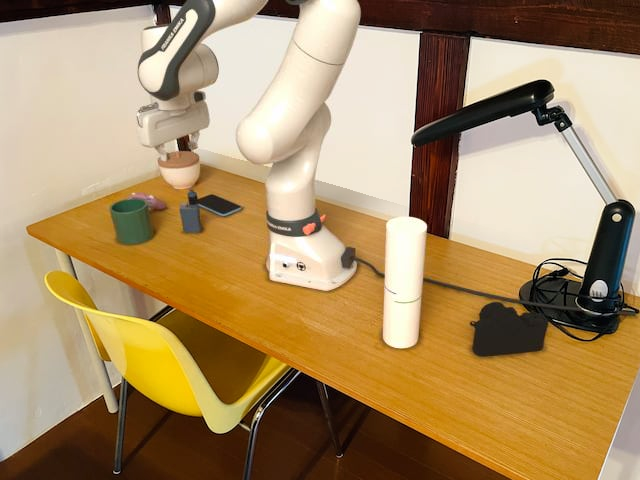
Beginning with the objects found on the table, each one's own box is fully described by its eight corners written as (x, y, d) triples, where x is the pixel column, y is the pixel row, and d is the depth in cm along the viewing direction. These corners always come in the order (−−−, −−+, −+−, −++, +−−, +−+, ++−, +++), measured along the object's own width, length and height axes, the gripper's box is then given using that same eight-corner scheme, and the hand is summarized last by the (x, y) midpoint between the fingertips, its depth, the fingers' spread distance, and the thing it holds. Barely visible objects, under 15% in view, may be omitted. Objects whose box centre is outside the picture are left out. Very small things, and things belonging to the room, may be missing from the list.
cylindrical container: (396, 321, 111) (401, 213, 98) (425, 335, 107) (434, 224, 94) (375, 338, 106) (378, 226, 93) (404, 353, 103) (411, 239, 89)
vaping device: (201, 233, 144) (194, 192, 138) (182, 232, 144) (174, 191, 138) (204, 228, 146) (197, 188, 140) (185, 228, 146) (177, 187, 140)
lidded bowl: (193, 174, 180) (187, 142, 174) (210, 185, 172) (205, 152, 166) (156, 183, 173) (149, 150, 167) (172, 195, 165) (166, 161, 159)
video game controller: (133, 213, 158) (121, 198, 152) (140, 201, 160) (128, 186, 154) (162, 217, 155) (151, 202, 149) (168, 205, 157) (158, 190, 152)
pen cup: (161, 233, 144) (154, 202, 139) (134, 247, 137) (126, 216, 132) (137, 225, 148) (130, 195, 143) (110, 239, 141) (101, 208, 136)
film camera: (527, 322, 111) (535, 286, 106) (548, 352, 103) (557, 315, 98) (457, 328, 109) (462, 292, 104) (472, 360, 101) (478, 322, 96)
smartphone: (211, 193, 164) (243, 206, 156) (212, 195, 165) (243, 209, 157) (191, 200, 160) (223, 214, 151) (191, 203, 160) (223, 217, 152)
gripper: (145, 110, 117) (156, 170, 125) (210, 91, 132) (217, 145, 140) (125, 106, 120) (138, 164, 127) (191, 87, 135) (199, 141, 142)
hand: (180, 154), depth 134 cm, fingers open, 8 cm apart
